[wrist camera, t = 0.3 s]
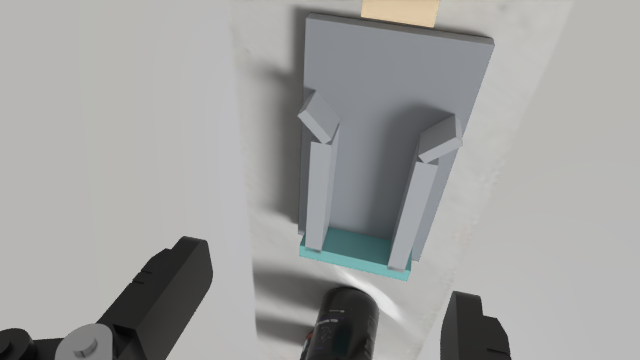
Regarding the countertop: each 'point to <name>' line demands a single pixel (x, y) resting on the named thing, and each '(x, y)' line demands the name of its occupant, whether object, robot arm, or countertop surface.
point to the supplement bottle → (345, 327)
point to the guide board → (380, 137)
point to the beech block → (402, 11)
